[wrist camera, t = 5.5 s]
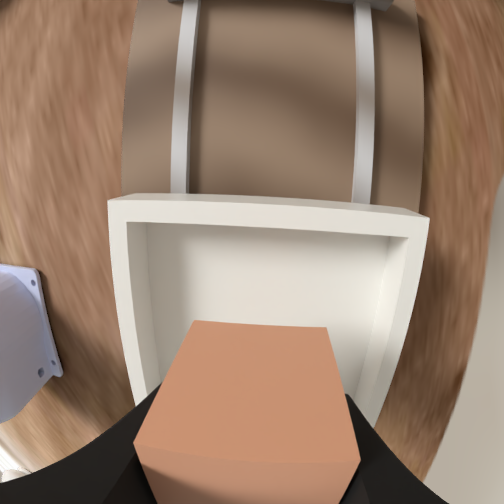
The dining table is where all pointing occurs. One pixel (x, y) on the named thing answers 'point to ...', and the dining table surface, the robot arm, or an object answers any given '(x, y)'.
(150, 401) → the robot arm
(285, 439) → the terracotta block
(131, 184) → the track board
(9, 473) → the flower vase
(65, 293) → the dining table surface
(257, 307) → the white square tray
